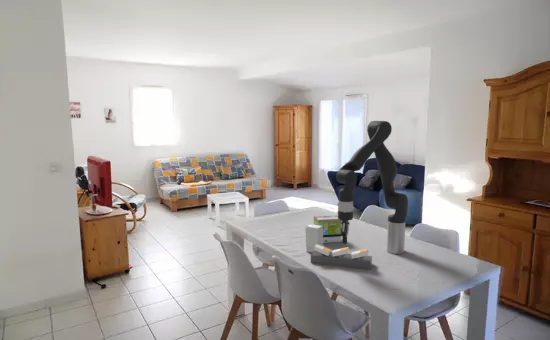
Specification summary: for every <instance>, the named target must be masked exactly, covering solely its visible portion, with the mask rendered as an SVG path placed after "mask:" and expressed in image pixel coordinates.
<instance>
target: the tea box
mask: <svg viewBox="0 0 550 340" xmlns="http://www.w3.org/2000/svg"><path fill="white" fill-rule="evenodd" d="M341 223H342V220H340V219H338V214H335V215H331V214H330V215H314V216H313V225H320V226H323V244H324V243H326V244H328V243H329V244H330V243H342V236H341Z"/></svg>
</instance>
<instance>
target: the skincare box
mask: <svg viewBox="0 0 550 340" xmlns="http://www.w3.org/2000/svg"><path fill="white" fill-rule="evenodd" d="M304 228H305V244H306V245H305V247H306V248H305V249H306V250H305V252H307V253H311V254H312V253H313V251H314V247H315V245H316V244H318V245H320V246H323V247H324V243H323V226H320V225H314V224H308V225H306V226H305V227H304Z"/></svg>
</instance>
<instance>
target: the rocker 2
mask: <svg viewBox="0 0 550 340" xmlns="http://www.w3.org/2000/svg"><path fill="white" fill-rule="evenodd" d="M331 252H332V255H333V256H338V255H343V254H350V248H349V246H347V247H341V248H338V249H334V250H332V251H331Z"/></svg>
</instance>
